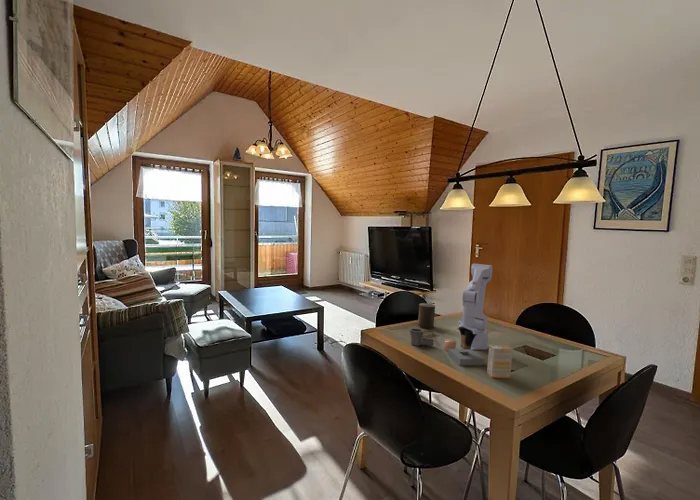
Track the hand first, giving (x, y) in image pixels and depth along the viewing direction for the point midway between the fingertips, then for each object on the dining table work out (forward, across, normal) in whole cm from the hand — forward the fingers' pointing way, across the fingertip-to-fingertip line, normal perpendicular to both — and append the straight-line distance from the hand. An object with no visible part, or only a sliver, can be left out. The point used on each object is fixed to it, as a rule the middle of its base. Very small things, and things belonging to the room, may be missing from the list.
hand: (466, 344), depth 159 cm
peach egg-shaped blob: (+8, -12, -2) cm, 14 cm away
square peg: (+2, 0, 0) cm, 2 cm away
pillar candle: (+8, -51, +1) cm, 52 cm away
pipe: (+8, -20, -15) cm, 26 cm away
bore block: (+8, 0, 0) cm, 8 cm away
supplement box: (+8, +17, +6) cm, 20 cm away
